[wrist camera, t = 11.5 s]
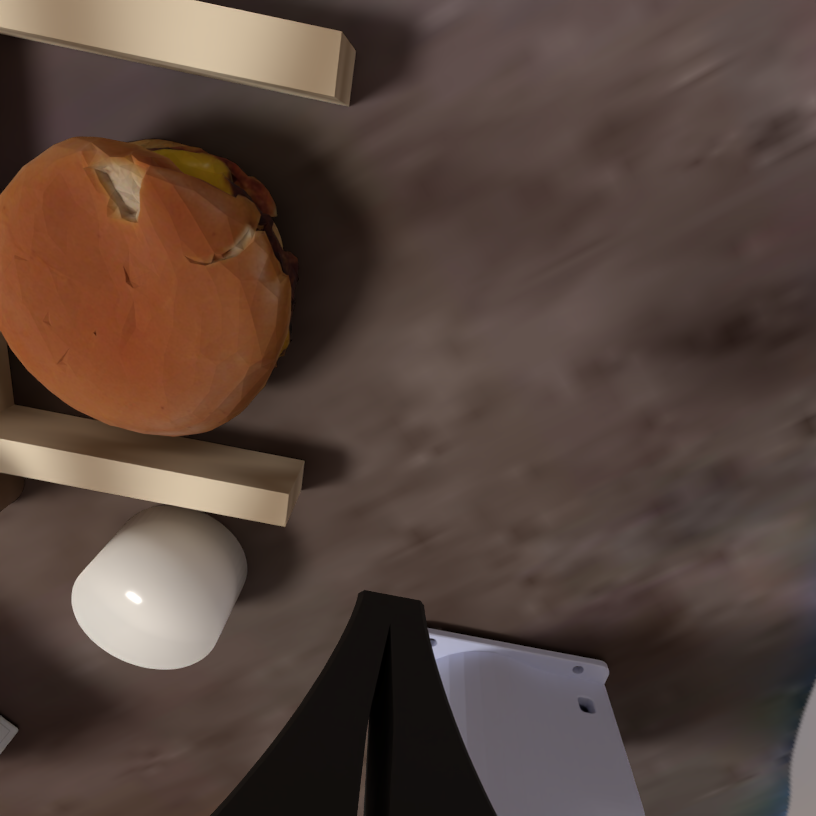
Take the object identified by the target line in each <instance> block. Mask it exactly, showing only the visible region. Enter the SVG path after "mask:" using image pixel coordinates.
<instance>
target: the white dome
mask: <svg viewBox="0 0 816 816" xmlns="http://www.w3.org/2000/svg"><path fill="white" fill-rule="evenodd" d="M246 577H247V561H246V557H245V554H244V551H243V549H242V547H241V545H240V543H239V542H238V540H237V539H236V537H235V536H234V535H233V534H232V533H231V532H230V531H229V530H228V529H227V528H226V527H225V526H224V525H223V524H221V523H220V522H219V521H217V520H216V519H214V518H212V517H211V516H209V515H207V514H205V513H203V512H200V511H197V510H194V509H189V508H184V507H179V506H173V505H164V506H156V507H151V508H148V509H145V510H142V511H141V512H139V513H137V514H135V515H134V516H133V517H131V518H130V519H129V520H128V522H127V523H126V524H125V525H124V526H123V527H122V528H121V529H120V530H119V532H118V533H117V534H116V535H115V536H114V537H113V538H112V539H111V540H110V542H109V543H108V544H107V545H106V546H105V547H104V548H103V549H102V550H101V552H100V553H99V554H98V555H97V556H96V557H95V558H94V559H93V561H92V562H91V563H90V564H89V565H88V566H87V567H86V568H85V569H84V571H83V572H82V573H81V574H80V575H79V576H78V578H77V580H76V581H75V584H74V586H73V590H72V607H73V611H74V614H75V617H76V619H77V621H78V623H79V625H80V626H81V628H82V629H83V631H84V632H85V633H86V634H87V635H88V636H89V638H90V639H91V640H92V641H94V642H95V643H96V644H97V645H98V646H99V647H101V648H102V649H103V650H105V651H106V652H108V653H109V654H111V655H113V656H115V657H117V658H119V659H121V660H123V661H125V662H128V663H131V664H134V665H137V666H141V667H145V668H151V669H177V668H182V667H186V666H189V665H192V664H194V663H196V662H198V661H200V660H201V659H203V658H204V657H205V656H207V655H208V654H209V653H210V652H211V650H212V649H213V648H214V646H215V644H216V642H217V640H218V638H219V636H220V634H221V632H222V630H223V628H224V626H225V623H226V621H227V619H228V617H229V615H230V613H231V611H232V609H233V607H234V605H235V603H236V600H237V598H238V596H239V594H240V592H241V590H242V588H243V586H244V583H245V581H246Z"/></svg>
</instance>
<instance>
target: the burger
mask: <svg viewBox="0 0 816 816" xmlns="http://www.w3.org/2000/svg"><path fill="white" fill-rule="evenodd" d="M275 216H277V211H276V204H275V202H274V200H273V198H272V197H271V195H270V193H269V191H268V190H267V189H266V188H265V186H264V185H263V184H262V183H261V182H260V181H258V180H257V179H256V178H255V177H248V176H247V175H246V174H245V173H244V172H243V171H242V170H241V169H240V168H239V167H238V165H237V164H236V163H234V162H232V161H230V160H228V159H226V158H222V157H219V156H215V155H212V154H208V153H207V152H206V151H204V150H203V149H201V148H198V147H190V146H187V145H183V144H180V143H176V142H172V141H167V140H162V139H144V140H139V141H134V142H128V143H126V142H121V141H116V140H111V139H106V138H99V137H73V138H70V139H67V140H65V141H62V142H60V143H57V144H54V145H53V146H51V147H50V148H49V149H47V150H46V151H44V152H43V153H41V154H40V155H39V156H37V157H36V158H34V159H33V160H32V161H30V162H29V163H27V164H26V165H24V166H23V167H22V168H21V170H20V171H19V172H18V173H17V175H16V176H15V177H14V178H13V180H12V181H11V182H10V183H9V184H8V186H7V187H6V188H5V189H4V191H3V192H2V193H1V194H0V331H1V333H2V334H3V336H4V338H5V340H6V341H7V343H8V345H9V347H10V348H11V350H12V351H13V353H14V354H15V355H16V356H17V358H18V359H19V360H20V361H21V363H22V364H23V365H24V366H25V368H26V369H27V370H28V371H29V372H30V373H31V374H32V375H33V376H34V377H35V378H36V379H37V380H38V381H40V382H41V383H42V384H43V385H44V386H45V387H46V388H47V389H48V390H49V391H51V392H52V393H53V394H55V395H56V396H57V397H58V398H60V399H61V400H62V401H64V402H65V403H66V404H68V405H69V406H71V407H72V408H74V409H76V410H78V411H80V412H82V413H84V414H86V415H88V416H90V417H93V418H95V419H97V420H99V421H101V422H103V423H105V424H108V425H110V426H115V427H120V428H123V429H126V430H130V431H134V432H138V433H142V434H151V435H161V436H172V437H176V436H184V435H191V434H198V433H204V432H208V431H211V430H213V429H215V428H217V427H219V426H221V425H222V424H224V423H226V422H228V421H230V420H231V419H233V418H234V417H236V416H237V415H239V414H240V413H241V412H242V411H243V410H244V409H245V408H246V407H247V406H248V405H249V404H250V402H251V401H252V400H253V399H254V398H255V396H256V395H257V394H258V393H259V392H260V391H261V390H262V389H263V388H264V387H265V386H266V382H267V380H268V379H269V377H270V375H271V373H272V370H273V368H277V360H278V358H279V357H281V356H284V355H285V352H286V348H287V347H288V345H289V343H290V342H291V341H292V340H290V336H291V319H292V313H293V310H294V307H293V306H294V305H295V304H296V302H295V298H294V292H295V288H296V284H297V282H298V280H299V278H298V274H297V273H298V270H299V267H298V258H297V257H295V256H294V255H293V254H292V253H291V252H290V251H283V245H282V241H281V237H280V234H279V231H278V228H277V227H276V225H275V223H274V221H273V219H272V218H271V217H275Z"/></svg>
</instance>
